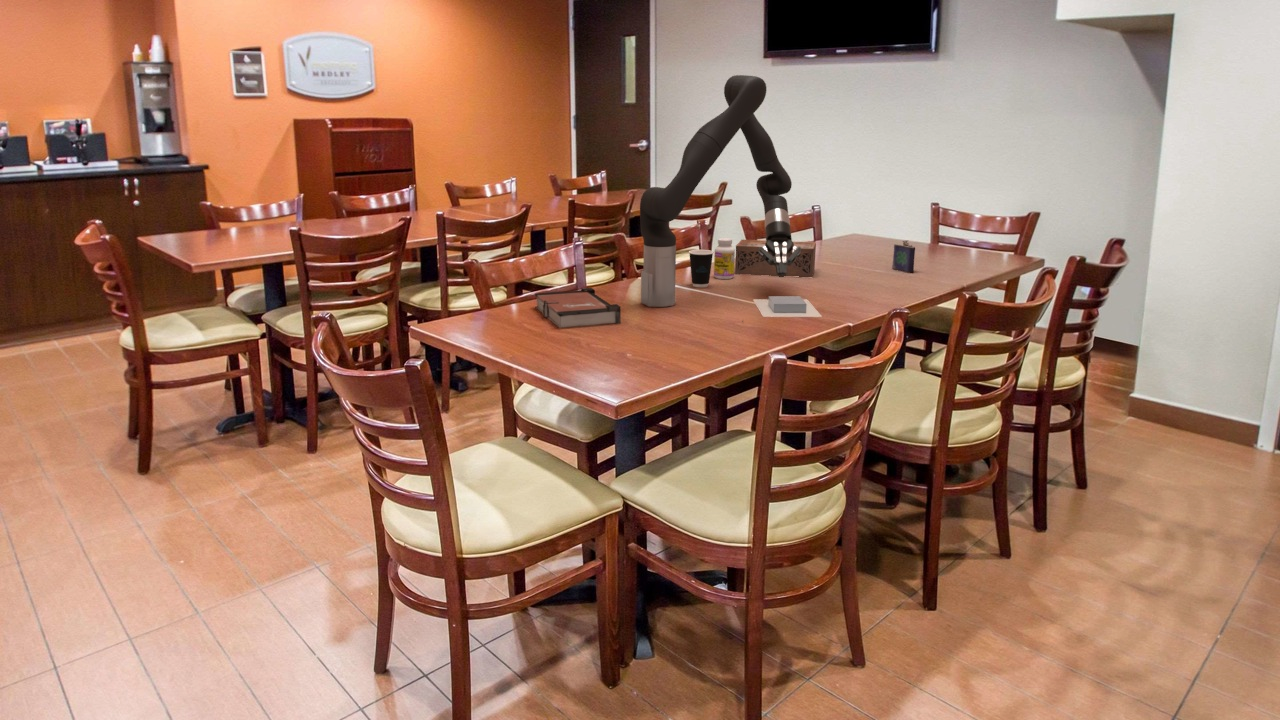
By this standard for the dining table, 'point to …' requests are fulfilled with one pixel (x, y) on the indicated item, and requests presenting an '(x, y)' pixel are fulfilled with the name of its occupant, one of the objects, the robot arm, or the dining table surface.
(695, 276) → the dixie cup
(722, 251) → the supplement bottle
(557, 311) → the book
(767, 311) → the board
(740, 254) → the tissue box cover
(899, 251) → the flask
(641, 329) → the dining table surface
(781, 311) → the tile
